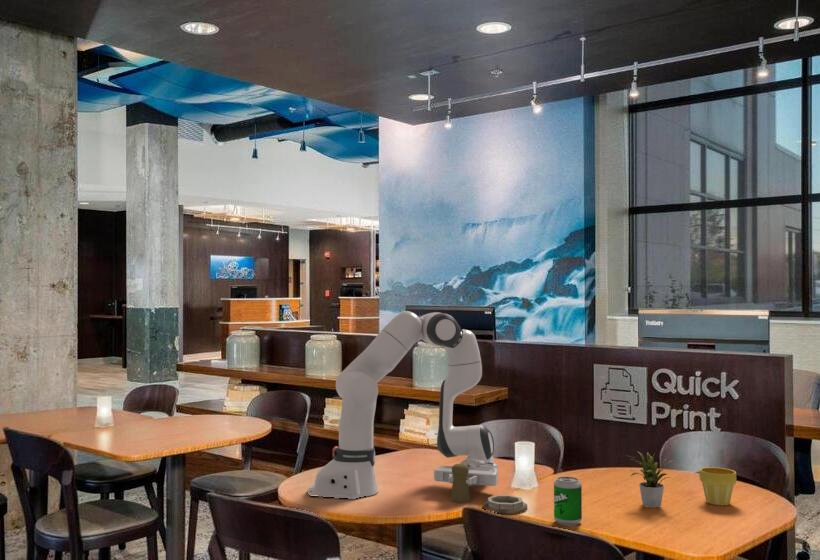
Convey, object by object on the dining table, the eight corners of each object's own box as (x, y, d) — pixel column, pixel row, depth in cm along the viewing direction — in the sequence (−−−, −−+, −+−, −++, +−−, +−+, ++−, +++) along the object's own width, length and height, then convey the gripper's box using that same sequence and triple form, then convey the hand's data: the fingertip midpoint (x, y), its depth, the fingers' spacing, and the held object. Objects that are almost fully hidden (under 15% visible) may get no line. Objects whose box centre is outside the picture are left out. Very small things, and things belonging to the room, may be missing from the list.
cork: (468, 503, 230) (468, 467, 230) (449, 502, 231) (449, 466, 231) (471, 498, 236) (471, 462, 236) (451, 497, 237) (451, 461, 237)
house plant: (613, 501, 233) (613, 447, 233) (651, 496, 238) (650, 444, 238) (643, 513, 219) (643, 456, 220) (682, 508, 224) (681, 453, 225)
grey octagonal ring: (484, 514, 219) (484, 505, 219) (481, 502, 232) (481, 493, 232) (529, 514, 218) (529, 505, 218) (524, 502, 231) (524, 494, 231)
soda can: (577, 518, 214) (577, 475, 215) (584, 526, 207) (584, 482, 207) (551, 518, 214) (551, 475, 214) (557, 526, 207) (557, 482, 207)
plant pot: (718, 497, 237) (718, 465, 238) (744, 505, 228) (744, 472, 228) (692, 500, 234) (692, 468, 234) (717, 508, 224) (716, 475, 224)
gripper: (440, 459, 249) (427, 468, 236) (502, 464, 242) (491, 473, 229) (440, 478, 249) (427, 488, 236) (502, 484, 242) (491, 494, 229)
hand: (459, 481), depth 233 cm, fingers closed on cork, 4 cm apart
